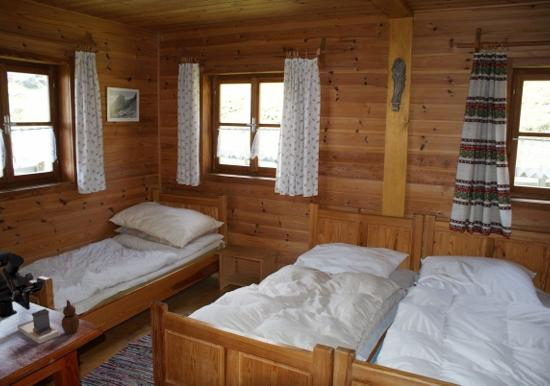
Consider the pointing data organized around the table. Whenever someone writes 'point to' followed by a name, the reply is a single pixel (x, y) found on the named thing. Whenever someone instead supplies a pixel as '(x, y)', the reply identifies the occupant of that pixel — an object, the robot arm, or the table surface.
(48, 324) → the fader knob
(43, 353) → the table surface
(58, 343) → the table surface
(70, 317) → the wooden figurine
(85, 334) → the table surface
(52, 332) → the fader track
